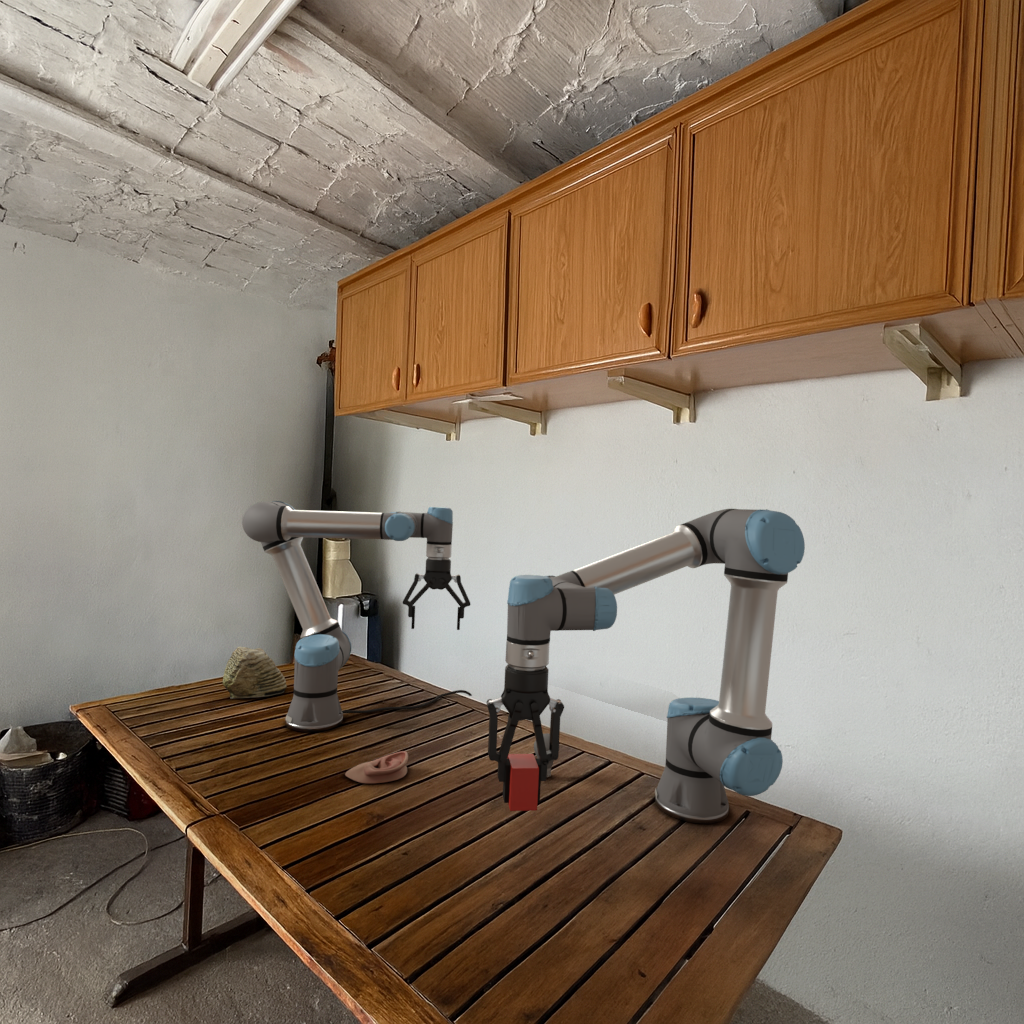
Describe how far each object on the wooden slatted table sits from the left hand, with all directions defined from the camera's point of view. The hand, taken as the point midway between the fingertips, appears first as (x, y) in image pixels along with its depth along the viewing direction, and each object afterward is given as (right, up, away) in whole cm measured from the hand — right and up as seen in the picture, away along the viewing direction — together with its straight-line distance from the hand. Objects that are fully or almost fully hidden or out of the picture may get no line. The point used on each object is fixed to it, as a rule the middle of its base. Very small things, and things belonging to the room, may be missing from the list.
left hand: (435, 628), depth 191 cm
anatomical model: (-8, -25, -45) cm, 52 cm away
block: (+25, -15, -81) cm, 86 cm away
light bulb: (+31, -27, -43) cm, 59 cm away
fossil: (-58, -22, +7) cm, 62 cm away
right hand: (+25, -15, -81) cm, 86 cm away
